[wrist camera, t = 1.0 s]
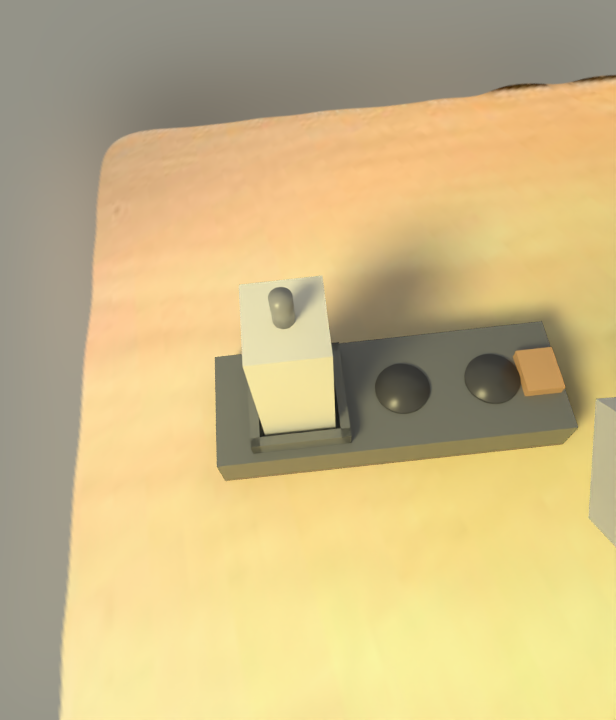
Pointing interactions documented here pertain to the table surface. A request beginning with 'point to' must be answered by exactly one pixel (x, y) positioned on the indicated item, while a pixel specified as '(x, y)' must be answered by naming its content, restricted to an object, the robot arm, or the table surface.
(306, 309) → the white block with knob
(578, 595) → the table surface
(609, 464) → the robot arm
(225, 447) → the power strip
